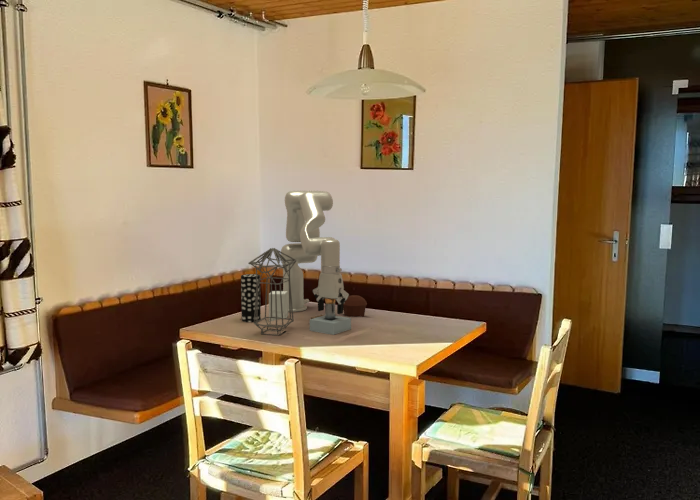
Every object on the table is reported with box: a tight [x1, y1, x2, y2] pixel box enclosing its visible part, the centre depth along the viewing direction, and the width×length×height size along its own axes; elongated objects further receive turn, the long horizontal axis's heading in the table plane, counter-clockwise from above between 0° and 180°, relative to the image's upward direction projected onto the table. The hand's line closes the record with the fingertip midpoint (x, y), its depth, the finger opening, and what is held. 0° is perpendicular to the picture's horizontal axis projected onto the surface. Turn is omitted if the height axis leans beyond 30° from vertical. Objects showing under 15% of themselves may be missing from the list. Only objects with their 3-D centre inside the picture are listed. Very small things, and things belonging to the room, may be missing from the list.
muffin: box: [343, 294, 368, 318], centre depth 292 cm, size 12×11×10 cm
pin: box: [324, 298, 336, 321], centre depth 262 cm, size 4×4×14 cm
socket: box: [309, 314, 352, 336], centre depth 262 cm, size 12×12×6 cm
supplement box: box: [268, 290, 289, 323], centre depth 286 cm, size 7×7×13 cm
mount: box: [308, 314, 325, 325], centre depth 275 cm, size 10×8×4 cm
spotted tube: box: [240, 273, 262, 323], centre depth 285 cm, size 8×8×20 cm
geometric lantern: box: [248, 247, 297, 337], centre depth 261 cm, size 16×16×35 cm
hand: (330, 312), depth 262 cm, fingers open, 9 cm apart
